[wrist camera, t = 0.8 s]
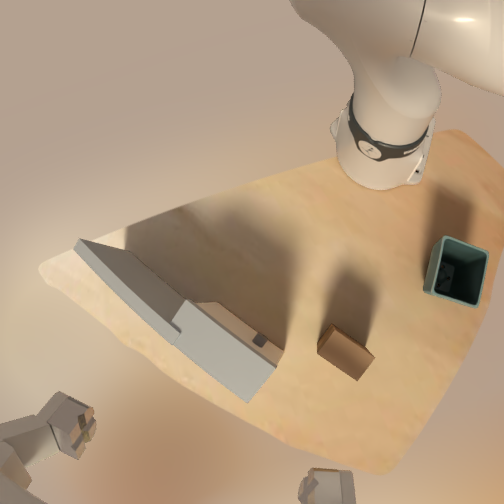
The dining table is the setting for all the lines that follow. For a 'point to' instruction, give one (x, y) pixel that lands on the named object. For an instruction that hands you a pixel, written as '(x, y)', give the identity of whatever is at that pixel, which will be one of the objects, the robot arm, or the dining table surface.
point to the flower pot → (456, 271)
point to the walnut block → (344, 352)
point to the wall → (179, 320)
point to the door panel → (243, 331)
